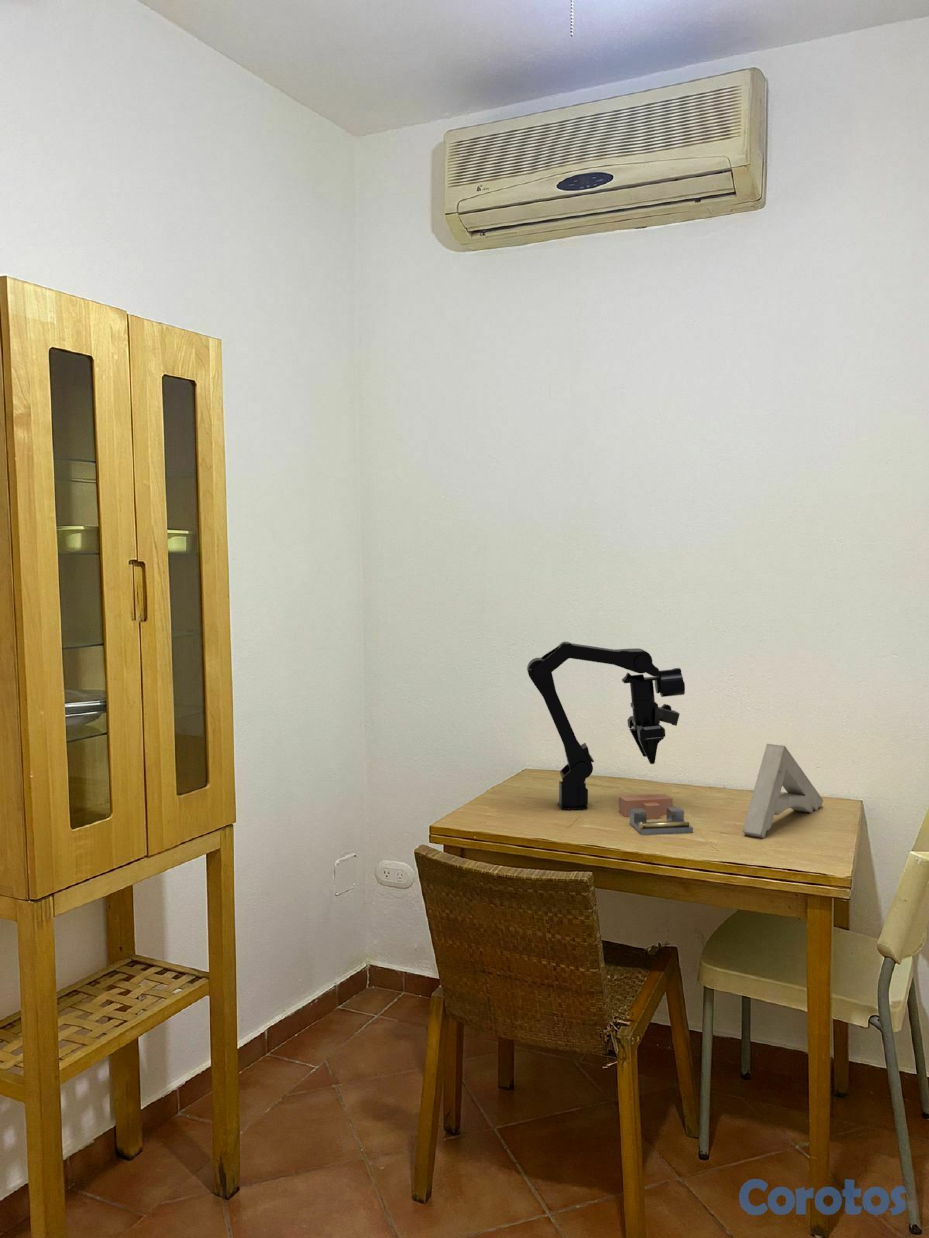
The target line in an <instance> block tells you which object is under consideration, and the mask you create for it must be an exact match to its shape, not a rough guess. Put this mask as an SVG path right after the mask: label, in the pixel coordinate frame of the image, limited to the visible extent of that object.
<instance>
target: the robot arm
mask: <svg viewBox="0 0 929 1238" xmlns="http://www.w3.org/2000/svg"><path fill="white" fill-rule="evenodd" d="M569 659H573V660H580V661H585V662H586V661H587V662H592V663H600V664H607V665H612V666H615V667H616V666H617V667H620V668H622V669H625V670H628V671H630V672H634V673H636V674H631V673H630V672H627V673H626V674H625V676H624V677H623V678H622V679H621V682H622V683H624V684H629V687H630V696H631V697H630V698H631V702H630V707H631V708H632V715H630V716H629V717H628V719H627V727H628V728H629V732H630V733H631V735H632V737H633V739H634V741H635V743H636V745H637V747H638V749H639V751H640V753H641V754H642V756H643V757H644V758H645V757H646V758H647V761H648V762H649V764H650V765H655V764H656V758H657V751H658V746H659V743H660V742H661V741H662V740H664V738H665V737H666V729H665V727H663V725H661V722H662V723H666V724H671V726H677V725H678V722H679V718H680V712H678V711H676V710H673V709H672V706H671V705H670V704H666V703H663V705H661V706H659V704H658V703H657V701H656V700H655V692H656V694H660V697H661V698H665V697H675V696H684V695H685V693H686V686H685V685H686V684H685V681H684V678H683V677H684V676H683V674H682V669H681V668H680V667H674V668H671V669H664V670H663V669H662V670H660V669H659V668H658V667H657V666H655V665H654V663H653V658H652V656H651V654H650V653H649V652H648V651H646V650H644V649H642V648H621V649H620V648H618V649H617V648H616V649H613V648H605V647H599V646H592V645H585V644H578V643H572V642H570V641H562V642H561V643H559V645H557V646H556V647H555V648H553V649H552V650H549V651H548V652H546V653H545V654H544V655H542V656H541V657H534V658H532V659H531V660H530V661H529V662H528V664H527V665H526V666H527V667H526V669H527V674H528V676H529V678H530V680H531V682H532V683H533V684H534V686H535V688H536V689H537V690H538V692H539V693H540V695H541V696H542V698H543V701H544V702H545V705H546V707H547V709H548V712H549V714H550V717H551V718H552V721H553V724H554V726H555V729H556V730H557V732H558V735H559V737H560V739H561V742H562V743H563V748H564V753H565V757H566V761H567V763H566V764H565V765H564V766H563V768H561V770H559V774H560V776H561V777H560V778H561V779H562V781H561V780H559V781H558V783H559V784H558V801H557V805H558V804H559V805H558V807H560V809H561V808H562V809H561V810H564V811H566V810H568V811H569V810H588V804H589V788H587V786H586V785H587V783H586V779H588V778H589V777H590V776H591V775H592V773H593V770H594V766H593V763H595V760H594V759H593V757H592V755H591V754H590V750H589V747H588V745H587V743H586V742H584V743H582V744H580V742H579V741H578V738H577V737H576V735H575V732H574V730H573V727H572V725H571V723H570V721H569V719H568V716H567V714H566V711H565V709H564V707H563V705H562V702H561V700H560V698H559V695H558V693H557V691H556V684H555V680H554V676H553V672H554V671H555V670H556V669H558V668H559V667H560V666H561V665H562V664H564V663H565V662H566V661H567V660H569ZM644 674H648V675H650V676H647V677H645V676H644ZM654 688H655V689H654Z"/></svg>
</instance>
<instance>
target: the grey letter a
mask: <svg viewBox="0 0 929 1238" xmlns="http://www.w3.org/2000/svg"><path fill="white" fill-rule="evenodd" d="M783 788H784V790H785V792H782V789H783ZM781 792H782V793H781ZM750 799H751V800H750V802H749V807H748V810H747V813H746V817H745V820H744V824H743V828H742V833H743V834H744V835H745V836H749V835H750V836H749V837H754V836H755V837H756V838H760V839H764V838H766V835H767V834H766V833H767V831H770V830H771V828H772V825H773V821H774V818H775V816H779V815H781V814H782V813H784V811H786V810H787V809H792V810H793V811H797V812H801V811H803V813H807V812H809V813H808V814H813V813H814V812H813V811H818V809H819V808H820V807H822V805H823V803H824V799H823V798H822V796H821V795H820V793H819V792H818V790H817V789H816V788H815V786H814V785H813V784H812V782H811V781H810V780H809V778H808V776H807V774H806V773H805V772H804V771H803V770H802V767H800V765H799V764H798V762H797V760H795V758H794V757H793V755H792V754H791V752H790V751H789V750H788V748H787V746H785V745H782V744H773V743H766V745H765V749H764V753H763V756H762V759H761V764H760V766H759V770H758V773H757V778H756V781H755V785H754V788H753V792H752V795H751V798H750Z"/></svg>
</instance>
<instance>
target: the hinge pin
mask: <svg viewBox="0 0 929 1238" xmlns="http://www.w3.org/2000/svg"><path fill="white" fill-rule="evenodd" d="M689 825H690V821H685V822H668V823H642V822H639V829H643V828H654V827H681V826H689Z"/></svg>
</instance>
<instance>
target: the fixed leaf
mask: <svg viewBox="0 0 929 1238" xmlns="http://www.w3.org/2000/svg"><path fill="white" fill-rule="evenodd" d="M647 820H648V819H647V812H646V811H645V810H643V809H642V808H639V809H630V817H629V824H630V825H631V826H632V827H633V828H634V829H635V830H636V831H638V833H639V834H640V835H641V836H645V835H646V836H647V835H648V836H649V835H672V834H676V835H677V834H693V833H694V828H693V826H691V824H689V826H681V827H654V828H643V829H639V822H642V823H668V822H686V821H685V811H684V809H682V807H680V806H675V807H674V806H673V807H667V815H666V820H665V821H664V820H663V821H647Z"/></svg>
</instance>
